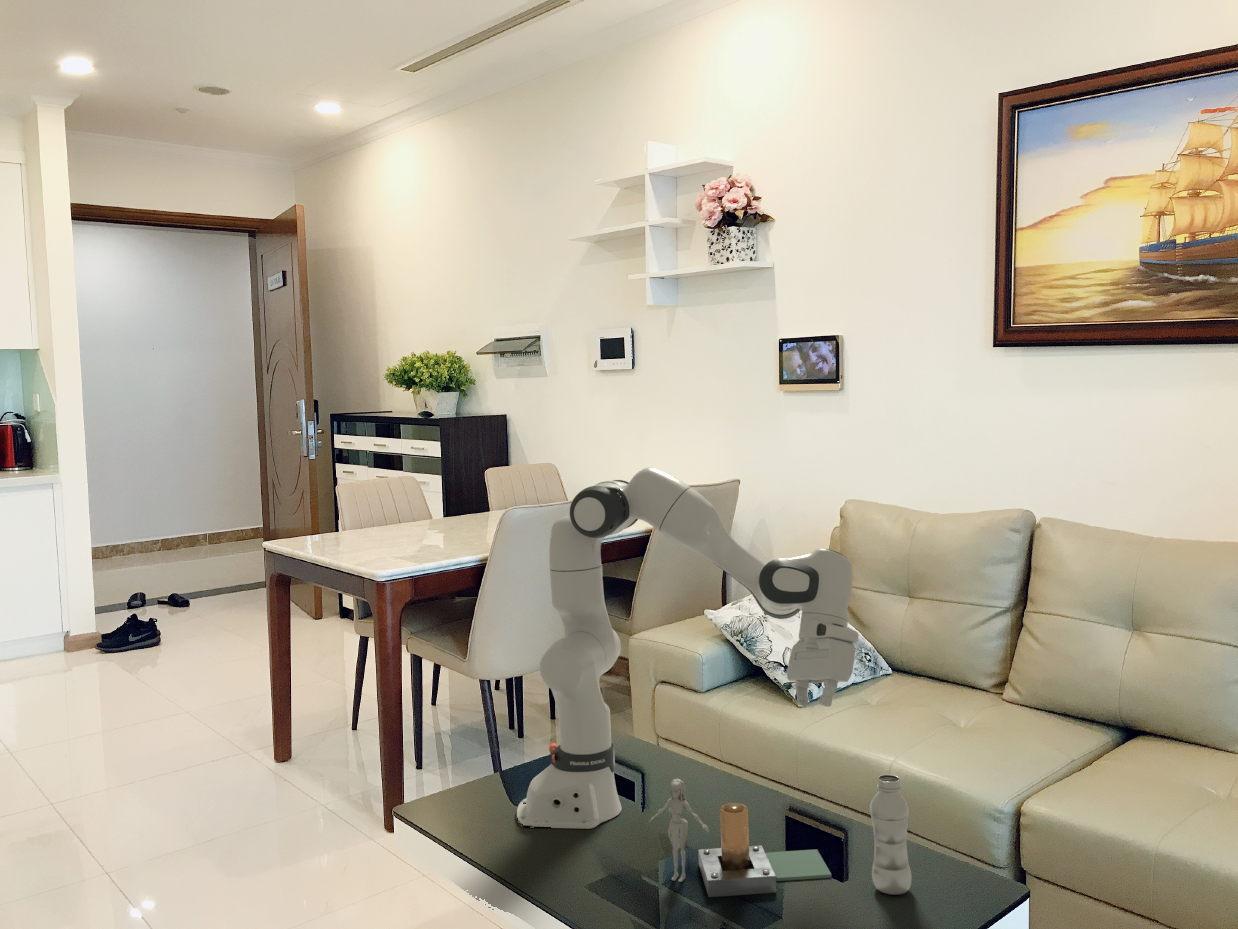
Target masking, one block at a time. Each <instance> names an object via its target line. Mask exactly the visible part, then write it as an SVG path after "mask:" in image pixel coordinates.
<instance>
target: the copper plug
mask: <svg viewBox="0 0 1238 929" xmlns="http://www.w3.org/2000/svg"><path fill="white" fill-rule="evenodd" d="M719 818H720V821H719V822H720V844H721V845H720V848H721V851H722V871H729V870H744V869H750V859H749V846H750V838H749V837H750V835H749V834H750V833H749V831H750V830H749V808H748V806H746V805H745V804H743V803H738V802H729V803H724V804H722V805H721V806H720V807H719Z"/></svg>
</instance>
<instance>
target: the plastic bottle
mask: <svg viewBox="0 0 1238 929" xmlns="http://www.w3.org/2000/svg"><path fill="white" fill-rule="evenodd" d="M876 788H877V790H878V791H877V793H875V795H874V796H873V798H872V799H871V801H870V804H869V812H870V818H871V824H872V829H873V837H874V839H873V841H874V842H873V843H874V850H873V851H874V853H873V863H872V868H871V878H872V882H873V885H874V887H875V888H876V889H877V890H878V891H879V892H881V893H884V894H887V895H893V896H894V895H895V896H896V895H904V894H905V893H907V892H908V891H909V890H910V888H911V885H912V878H913V877H912V871H911V868H910V865H909V855H908V849H907V848H908V847H907V844H908V843H907V836H908V834H907V833H908V822H909V816H910V815H909V813H910V809H909V806H908V803H907V801H906V799H905V798H904V797H903V795H902V794H901V793H900V791H901V790H902V789H901V788H902V787H901V779H900V777H899V776H897V775H894V774H881V775H879V776H878V777H877V786H876Z"/></svg>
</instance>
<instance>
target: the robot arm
mask: <svg viewBox="0 0 1238 929" xmlns="http://www.w3.org/2000/svg"><path fill="white" fill-rule="evenodd" d="M639 520H641V521H643V522H644V523H647V524H649V525H650V526H652V527H653V528H654V529H655V530H657V531H658V532H660V533H661V534H663V535H664V536H666V537H667V538H669V539H670V540H671V541H674V542H675V543H677V544H679V545H681V546H682V547H685V548H686V549H688V550H690V551H692V552H693V553H695V554H697V555H699V556H701V557H703V558H704V559H707V561H709V562H712V563H713V565H715V566H716V567H718V568H719V569H721V570H722V571H724V572H725V573H726V574H727V575H729V576H730V577H732V578H733V579H734V580H735V581H736V582H738V583H739V584H741V585H742V586H743V587H744V588H745V589H747V590H748V591H749V593H751V595H752V597H753V599H754V600H755V602H756V603H757V605H758V607H759V608H760V609H761V611H762V612H764V614H766V615H767V616H769V617H771V618H773V619H777V620H778V619H779V620H785V619H789V618H790V619H791V618H793V617H794V616H796V615H798V614H799V613H800V612H801V618H800V624H799V632H798V641H797V642H796V643H795V644H793V646H792V648H791V651H790V655H789V659H788V664H787V670H786V678H787V680H788V681H789V682H792V683H795V692H796V705H797V706H800V707H807V706H809V700H810V698H809V696H808V689H809V685H810V684H820V683H821V684H822V683H823V690H822V694H821V695H820V694H819V702H818V704H819V705H820V706H823V707H831V706H832V702H833V698H834V695H835V693H836V691H837V689H838V684H839V683H846V682H847V683H848V682H849V681H850V679H851V677H852V675H853V671H854V670H853V669H854V665H855V664H854V663H855V658H856V646H855V644H857V643H858V641H859V632H858V631H856V630H854V629H852V628H851V627H849V626H848V624H849V617H848V609H849V608H848V607H849V604H850V603H851V599H852V592H853V591H852V590H853V578H854V577H853V567H852V563H851V561H850V560H849V558H848V557H847V556H845V555H843V554H842V553H840V552H838V551H835V550H833V549H828V548H815V549H814V550H812V551H810V552H808V553H806V554H803V555H799V556H793V557H785V558H783V557H781V558H780V557H779V558H776V559H772V560H770V561H768V562H767V563H764V562H763V561H762V560H760V559H759V558H758V557H757V556H755V555H754V554H752V553H751V552H750V551H748V550H747V549H746V548H744V547H743V546H742V545H740V544H739V543H738V542H737V541H736V540H735V539H734V538H733V537H732V536H731V535H730V534H729V532H728V530H727V528H726V527H725V525H724V523H723V521H722V519H721V515H720V514H719V512H718V510H717V509H716V508H715V507H714V505H713V504H712V503H711V502H710V501H709V500H708V499H706V497H704V496H703V495H702V494H701V493H700V492H698V491H697V490H696V489H694V488H693V487H691V486H690V485H689V484H687V483H685V482H683V481H682V480H680V479H678V477H677V478H676V477H674V476H672V475H671V474H668V473H667V472H665V471H663V470H661V469H660V470H659V469H657V468H655V467H645V468H642V469H641V470H639V471H638V472H637V473H636V474H635V475H633V476H632V477H631V479H630V481H626V480H623V479H614V480H607V481H602V482H601V481H600V482H598V483H596V484H594V485H591V486H588V487H585V488H584V489H582V490H580V491H579V492H578V493H577V494H576V495H575V497H574V498H573V499H572V501H571V503H570V506H569V515H564V516H562V517H561V518H559V519H557V520H556V521H555V522H554V523H553V524H552V526H551V530H550V538H549V551H548V552H549V554H548V555H549V557H548V558H549V561H548V562H549V576H550V588H551V602H552V607H553V608H554V609H555V610H556V611H557V612H558V614H559V616H560V618H561V621H562V625H563V628H564V637H562V638H559V639H558V640H556V641H555V642H553V643H552V644H551V645H550V646H549V648H548V649H547V650H546V651H545V653H544V654H542V655H543V656H542V657H541V660H540V663H539V672H540V677H541V679H542V681H543V682H544V684H545V685H546V686H547V687H548V688H549V689H550V690H551V693H552V696H553V698H554V702H555V705H556V710H557V714H558V715H557V716H558V730H559V733H558V734H559V745H558V744H557V743H555V742H552V743H551V744H550V745H549V747H548V752H549V753H550V765H548V766H546V768H545V769H544V770H542V771H541V772H540V773H539V774H536V775H535V777H533V778H532V780H531V781H530V783H529V786H528V789H527V792H526V797H525V798H523V799H522V800H520V802H519V804H518V805H517V808H516V819H517V818H518V820H519V821H520V822H521V823H522V824H523V825H532V826H542V827H543V826H544V827H551V828H550V829H582V830H583V829H587V830H588V829H589V830H590V829H594V828H596V827H597V826H598V825H600V824H601V823H604V822H607V821H608V820H611V819H613V818H615V817H616V816H618V815H619V814H621V812H622V804H621V801H620V797H619V795H618V791H617V786H616V779H615V772H614V771H615V766H616V762H615V760H616V759H615V758H616V757H615V749H614V743H613V742H612V729H611V728H612V727H611V726H612V725H611V711H610V710H611V709H610V707H609V705H608V704H607V703H606V702H605V701H604V698H603V695H602V691H601V687H600V678H601V676H602V675H603V674H605V673H606V672H608V671H610V669H611V668H613V666H614V665H615V663H616V662H617V660H618V659H619V656H620V654H621V650H622V649H621V647H622V645H621V644H622V643H621V640H620V637H619V635H618V634H617V632H616V630H614V629H613V626H612V623H611V620H610V618H609V614H608V610H607V606H606V601H605V594H604V593H605V592H604V580H603V568H602V567H603V566H602V557H601V550H602V547H601V546H602V542H603V539H604V538H605V537H607V536H609V537H610V536H613V535H617V534H618V533H621V532H622V531H624V530H625V529H628V528H630V527H632V526H634V525H635V524H636V522H637V521H639ZM523 803H526V804H523Z"/></svg>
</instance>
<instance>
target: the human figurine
mask: <svg viewBox="0 0 1238 929" xmlns="http://www.w3.org/2000/svg"><path fill="white" fill-rule="evenodd" d="M669 792H670V798H668V799H667V801H666V803H665V804H664V806H663V807H662V808H659V809H658V811H657V812H656V814H654V815H653V816H652V817H651V818H650V819H649V821H648V822H647V823H651V822H652V821H653V820H654V819H655V818H656V817H657V816H659V815H660V814H661V813H662V814H663V812H664V811H665V810H666V808H668V812H669V813H670V814H671V816H672V817H671V818H670V820H669V825H668V829H667V833H668V835H667V836H668V838H669V841H670V843H671V848H672V850H671V853H672V856H673V857H672V858H673V868H674V869H673V871H674V872H673V876H672V877H671V881H674V882H675V881H677V879H678V877H679V872H678V869H679V868H678V864H679V852H680V856H681V869H682V870H681V874H680V877H679V879H678V882H679V883H682V882H683V881H684V880H685V879H686V861H687V860H686V851H685V845H686V842H687V837H688V830H689V824H688V823H689V822H688V820H686V819H685V818H682V813H683V812H685V811H684V810H686V811H688V812H689V813H690V815H692V817H693V818H694V820H696V822H698V823H699V824H700V825H701V827H702V830H703V831H704V830H705V831H706V833H707V834H709V833H710V828H709V827H708V826H707V824H705V823H703V821H702V820H701V819H700V817H699V815H698V814H697V813H694V812H693V809H692V808H691V807H690V804H689V802H688V801H687V798H686V797H687V796H686V785H685V782H684V780H682V779H680V778H674V779H671V782H670V791H669ZM679 849H680V851H679Z"/></svg>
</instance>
